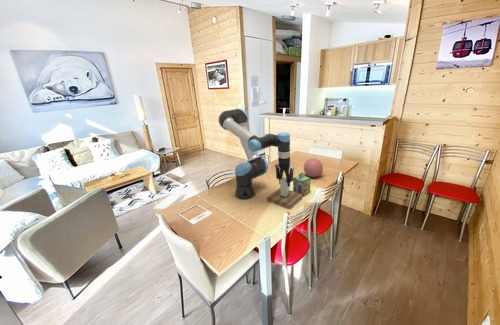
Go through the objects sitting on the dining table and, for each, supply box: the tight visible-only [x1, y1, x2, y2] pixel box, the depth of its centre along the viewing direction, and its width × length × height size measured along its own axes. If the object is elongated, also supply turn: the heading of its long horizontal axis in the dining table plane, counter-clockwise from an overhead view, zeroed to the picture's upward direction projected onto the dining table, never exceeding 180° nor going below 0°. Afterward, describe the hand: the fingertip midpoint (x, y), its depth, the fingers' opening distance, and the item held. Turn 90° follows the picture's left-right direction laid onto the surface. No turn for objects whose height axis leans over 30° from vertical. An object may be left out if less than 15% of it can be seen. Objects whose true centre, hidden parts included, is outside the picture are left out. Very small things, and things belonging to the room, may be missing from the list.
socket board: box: [266, 187, 303, 210], centre depth 145 cm, size 18×16×4 cm
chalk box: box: [292, 172, 312, 197], centre depth 151 cm, size 9×9×15 cm
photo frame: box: [178, 203, 213, 226], centre depth 137 cm, size 15×1×18 cm
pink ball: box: [303, 158, 324, 178], centre depth 176 cm, size 15×20×15 cm
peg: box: [279, 176, 290, 198], centre depth 142 cm, size 4×4×12 cm
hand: (284, 189), depth 142 cm, fingers closed on peg, 4 cm apart
